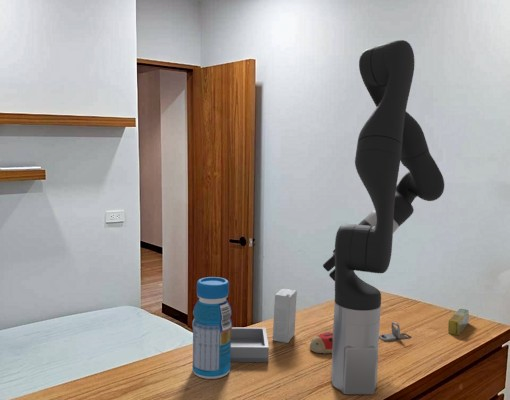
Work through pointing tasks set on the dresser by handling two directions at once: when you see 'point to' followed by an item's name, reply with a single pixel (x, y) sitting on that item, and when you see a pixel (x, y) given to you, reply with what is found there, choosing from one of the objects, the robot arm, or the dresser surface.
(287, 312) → the skincare box
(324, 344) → the ladybug figurine
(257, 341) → the gray open square tray
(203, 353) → the beverage bottle
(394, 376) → the dresser surface
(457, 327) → the medication box
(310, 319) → the dresser surface
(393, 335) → the strap clip
